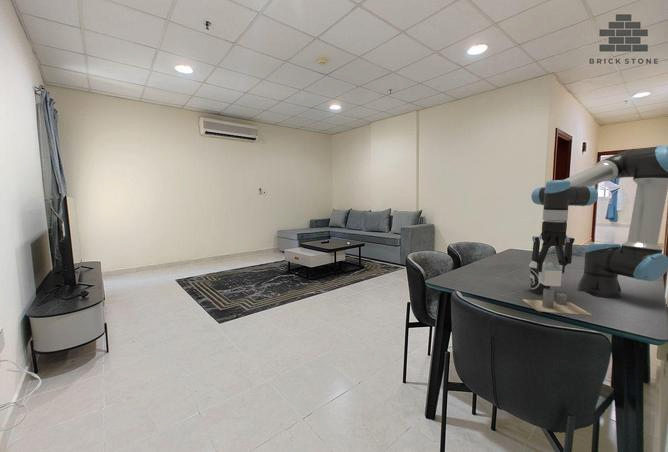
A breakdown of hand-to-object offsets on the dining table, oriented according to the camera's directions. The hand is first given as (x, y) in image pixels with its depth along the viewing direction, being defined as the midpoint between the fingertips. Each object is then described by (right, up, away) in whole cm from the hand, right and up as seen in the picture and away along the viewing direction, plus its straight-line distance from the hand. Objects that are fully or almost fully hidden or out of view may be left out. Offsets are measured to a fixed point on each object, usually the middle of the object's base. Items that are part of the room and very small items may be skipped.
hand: (549, 280), depth 113 cm
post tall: (0, -11, +1) cm, 11 cm away
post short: (+8, -10, +4) cm, 14 cm away
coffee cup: (+9, -10, +19) cm, 23 cm away
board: (+3, -12, +2) cm, 12 cm away
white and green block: (0, -1, 0) cm, 1 cm away
